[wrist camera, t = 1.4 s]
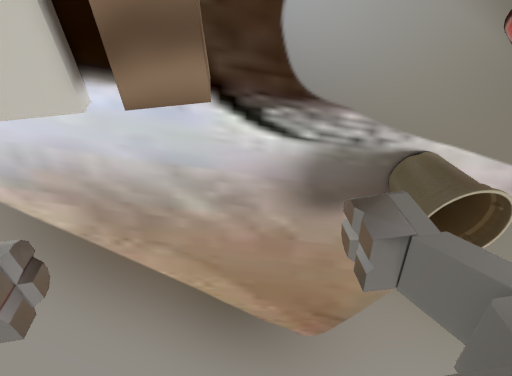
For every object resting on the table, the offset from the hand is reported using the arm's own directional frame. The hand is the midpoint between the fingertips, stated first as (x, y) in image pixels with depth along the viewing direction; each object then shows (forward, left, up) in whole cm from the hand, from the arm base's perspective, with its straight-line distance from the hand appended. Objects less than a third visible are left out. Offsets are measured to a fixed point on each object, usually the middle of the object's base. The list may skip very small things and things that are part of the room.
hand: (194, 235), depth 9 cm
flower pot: (+16, +21, -21) cm, 34 cm away
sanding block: (-2, -3, -21) cm, 21 cm away
